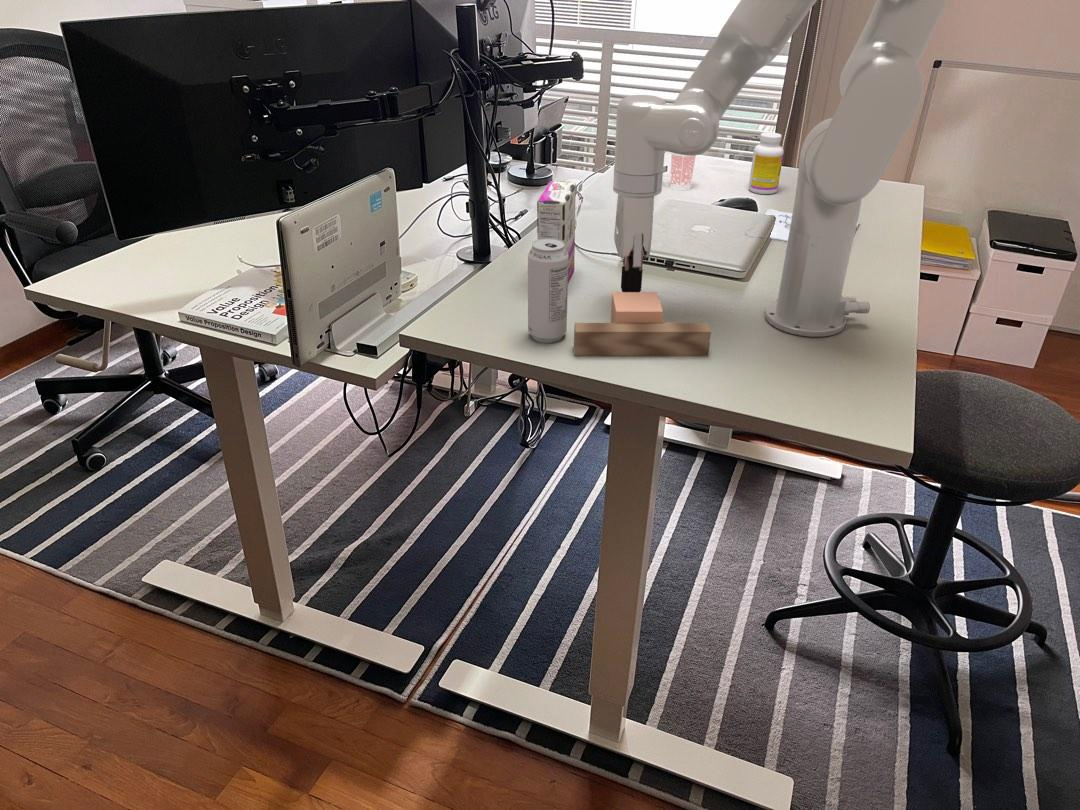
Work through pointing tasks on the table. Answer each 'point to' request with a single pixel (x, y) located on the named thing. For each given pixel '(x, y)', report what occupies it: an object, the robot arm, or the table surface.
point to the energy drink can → (547, 290)
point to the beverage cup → (681, 171)
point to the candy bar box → (558, 216)
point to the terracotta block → (636, 307)
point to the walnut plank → (641, 339)
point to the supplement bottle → (766, 164)
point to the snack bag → (782, 225)
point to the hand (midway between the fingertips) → (630, 290)
